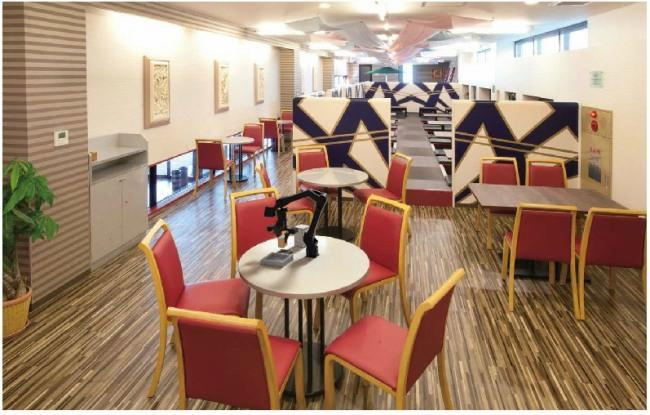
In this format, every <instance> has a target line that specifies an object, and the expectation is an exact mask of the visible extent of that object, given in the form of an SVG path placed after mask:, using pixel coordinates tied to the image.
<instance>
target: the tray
mask: <svg viewBox="0 0 650 415" xmlns="http://www.w3.org/2000/svg"><path fill="white" fill-rule="evenodd" d="M293 261H294V254H291V253H290V254H285V253H283V252H281V253H276V252H274V251H273V252H270V253H268V254H267V255H266V256H264V257H262V258H261V259H260V265H261V266H267V267H273V268H275V267H276V268H281V269H283V268H284V267H286V266H287V265H288V264H290V263H291V262H293Z"/></svg>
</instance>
